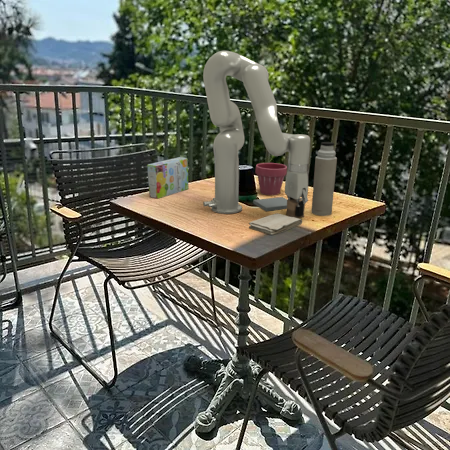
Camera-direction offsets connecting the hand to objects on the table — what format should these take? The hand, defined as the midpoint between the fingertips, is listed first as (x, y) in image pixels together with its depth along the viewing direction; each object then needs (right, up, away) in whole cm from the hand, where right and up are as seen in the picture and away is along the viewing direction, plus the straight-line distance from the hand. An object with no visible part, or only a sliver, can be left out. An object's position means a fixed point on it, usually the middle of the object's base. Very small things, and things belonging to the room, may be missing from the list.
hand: (295, 213), depth 169 cm
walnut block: (0, -1, 0) cm, 1 cm away
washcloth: (-9, -6, -11) cm, 15 cm away
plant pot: (-6, +10, +33) cm, 35 cm away
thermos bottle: (+11, 0, +4) cm, 12 cm away
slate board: (-7, +4, +13) cm, 15 cm away
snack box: (-53, +10, +31) cm, 62 cm away
